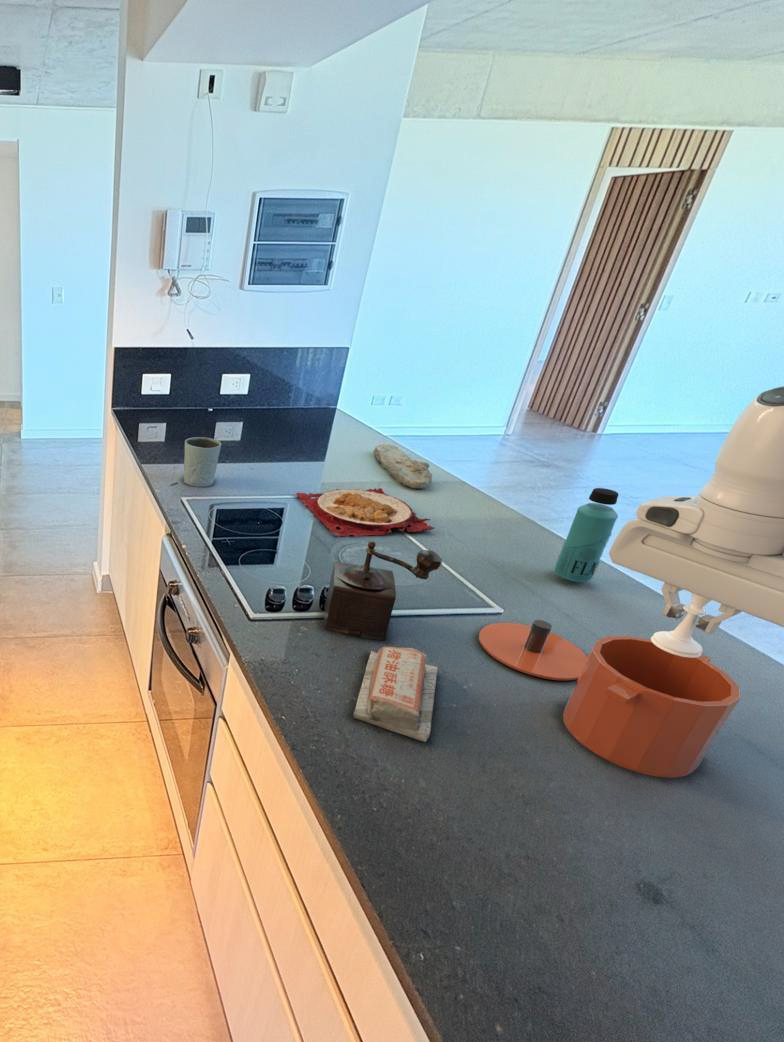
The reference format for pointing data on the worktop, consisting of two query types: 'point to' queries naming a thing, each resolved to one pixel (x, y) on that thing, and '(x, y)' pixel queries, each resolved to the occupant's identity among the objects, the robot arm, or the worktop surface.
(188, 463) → the green ceramic cup
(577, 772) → the worktop surface
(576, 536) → the beverage bottle
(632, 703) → the pot
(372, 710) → the packaged product
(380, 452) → the long grey stone
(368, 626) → the brown manual coffee grinder
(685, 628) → the chess piece
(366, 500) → the plate with food
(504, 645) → the lid
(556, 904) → the worktop surface
